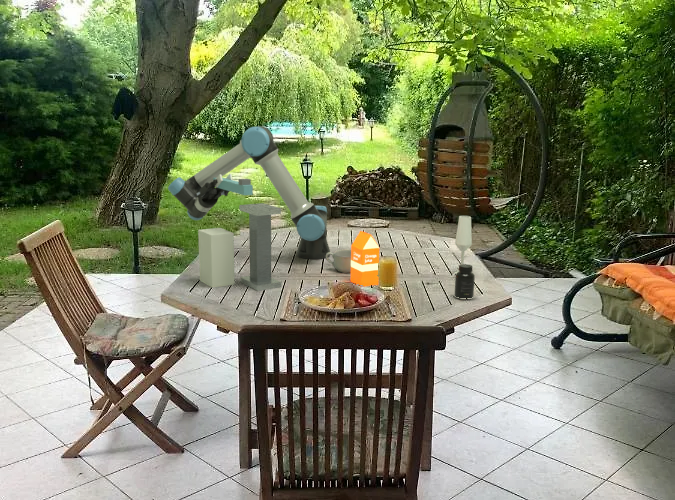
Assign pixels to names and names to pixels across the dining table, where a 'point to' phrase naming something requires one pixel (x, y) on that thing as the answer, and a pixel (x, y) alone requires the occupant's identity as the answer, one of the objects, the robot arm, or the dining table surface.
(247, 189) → the ledger bar
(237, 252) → the dining table surface
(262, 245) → the standard post
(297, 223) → the robot arm
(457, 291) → the supplement bottle
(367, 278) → the orange juice
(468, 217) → the champagne flute
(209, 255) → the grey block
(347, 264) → the teacup
